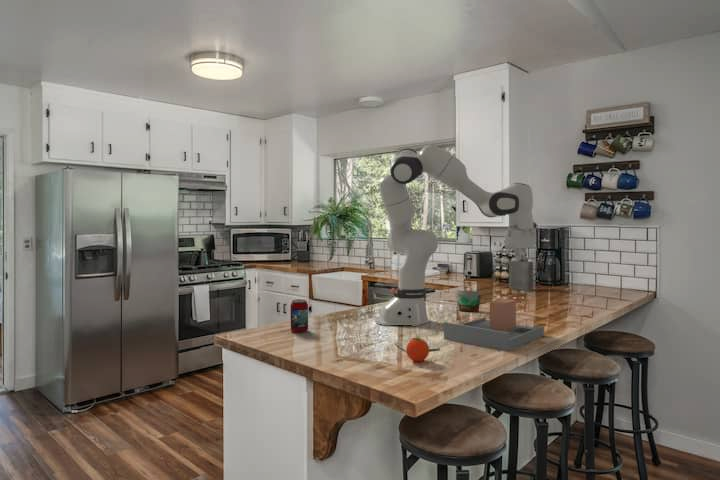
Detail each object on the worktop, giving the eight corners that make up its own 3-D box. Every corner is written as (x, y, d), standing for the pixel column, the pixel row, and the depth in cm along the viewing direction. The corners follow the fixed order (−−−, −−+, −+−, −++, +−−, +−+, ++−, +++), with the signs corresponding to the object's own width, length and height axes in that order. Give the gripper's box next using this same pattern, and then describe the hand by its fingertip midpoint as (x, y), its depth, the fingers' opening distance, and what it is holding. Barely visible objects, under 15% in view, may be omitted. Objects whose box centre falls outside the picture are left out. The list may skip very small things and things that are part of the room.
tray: (483, 325, 197) (483, 311, 197) (543, 335, 181) (544, 319, 180) (443, 338, 176) (443, 322, 176) (507, 351, 159) (507, 333, 159)
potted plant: (453, 311, 227) (453, 290, 227) (455, 309, 233) (455, 288, 233) (480, 313, 223) (480, 291, 222) (482, 311, 228) (482, 290, 228)
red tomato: (409, 356, 154) (409, 333, 154) (431, 358, 152) (431, 335, 152) (404, 363, 147) (404, 340, 146) (427, 365, 145) (427, 341, 144)
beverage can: (294, 334, 184) (293, 302, 184) (288, 330, 190) (287, 299, 190) (310, 332, 187) (310, 301, 187) (304, 328, 193) (304, 298, 193)
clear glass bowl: (406, 354, 158) (406, 340, 158) (393, 345, 169) (393, 331, 169) (440, 351, 161) (440, 337, 161) (425, 342, 173) (425, 329, 173)
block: (502, 324, 189) (502, 298, 188) (515, 326, 185) (516, 300, 184) (489, 328, 181) (489, 301, 181) (503, 330, 178) (503, 303, 177)
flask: (534, 291, 291) (535, 257, 290) (529, 292, 288) (530, 258, 287) (512, 288, 303) (513, 256, 302) (507, 289, 299) (507, 256, 298)
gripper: (516, 225, 182) (516, 262, 183) (539, 224, 197) (538, 258, 197) (500, 224, 186) (500, 261, 187) (524, 224, 201) (523, 257, 202)
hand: (520, 259), depth 192 cm, fingers closed
